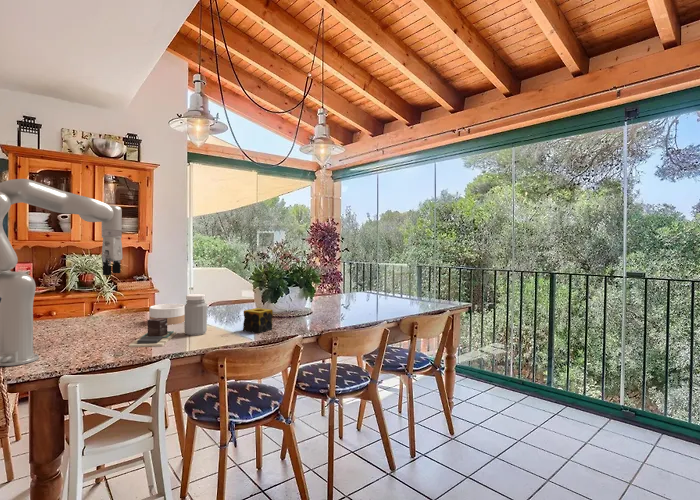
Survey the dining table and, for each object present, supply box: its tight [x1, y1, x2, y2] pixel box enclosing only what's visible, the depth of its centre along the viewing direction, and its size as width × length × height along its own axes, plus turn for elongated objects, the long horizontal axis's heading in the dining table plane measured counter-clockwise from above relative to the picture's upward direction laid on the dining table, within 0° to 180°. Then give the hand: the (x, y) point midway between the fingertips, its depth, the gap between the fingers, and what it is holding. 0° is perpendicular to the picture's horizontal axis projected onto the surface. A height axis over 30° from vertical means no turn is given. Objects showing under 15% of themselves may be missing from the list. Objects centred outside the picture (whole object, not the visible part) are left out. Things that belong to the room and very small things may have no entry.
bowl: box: [148, 303, 186, 326], centre depth 218 cm, size 17×17×8 cm
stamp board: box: [128, 330, 177, 348], centre depth 179 cm, size 22×13×2 cm, turn 9°
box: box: [147, 318, 168, 336], centre depth 185 cm, size 6×6×7 cm
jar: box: [183, 293, 208, 337], centre depth 192 cm, size 10×10×18 cm
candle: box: [242, 307, 273, 334], centre depth 201 cm, size 10×10×10 cm
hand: (111, 274), depth 179 cm, fingers open, 9 cm apart
